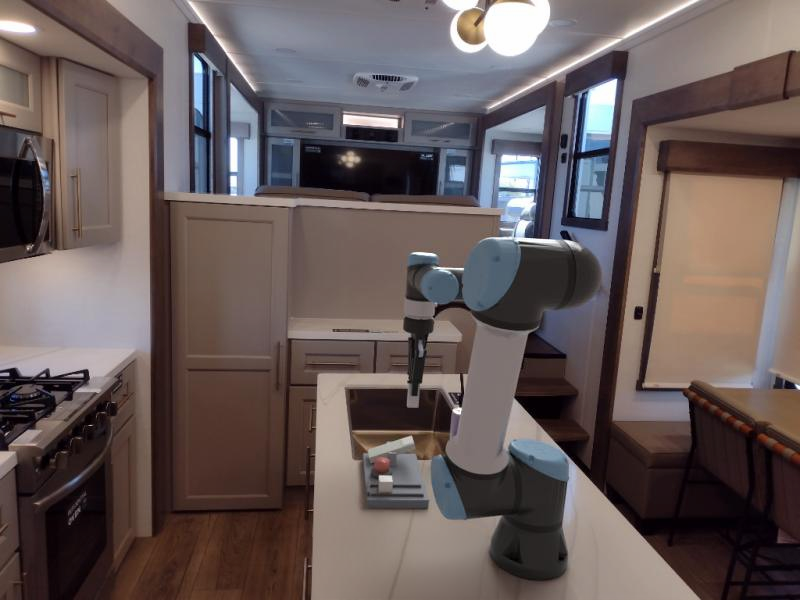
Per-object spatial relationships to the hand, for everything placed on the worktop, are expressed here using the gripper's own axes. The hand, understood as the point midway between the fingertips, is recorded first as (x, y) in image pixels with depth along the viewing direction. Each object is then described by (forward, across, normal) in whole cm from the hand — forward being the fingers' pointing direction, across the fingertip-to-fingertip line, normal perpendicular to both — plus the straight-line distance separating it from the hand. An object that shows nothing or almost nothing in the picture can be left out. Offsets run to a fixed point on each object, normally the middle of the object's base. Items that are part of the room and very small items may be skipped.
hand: (412, 406), depth 147 cm
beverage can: (+17, +2, -14) cm, 22 cm away
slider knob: (+15, -15, +8) cm, 22 cm away
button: (+14, -7, +8) cm, 17 cm away
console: (+17, -7, +5) cm, 19 cm away
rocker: (+12, +1, +4) cm, 13 cm away
